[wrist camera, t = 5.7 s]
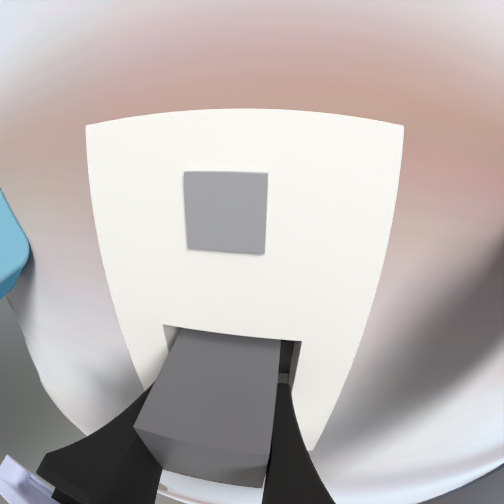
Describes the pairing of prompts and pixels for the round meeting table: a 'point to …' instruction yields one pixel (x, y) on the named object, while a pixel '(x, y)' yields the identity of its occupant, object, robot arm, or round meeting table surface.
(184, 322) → the white socket board
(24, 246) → the data package
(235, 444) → the plug
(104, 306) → the round meeting table surface
